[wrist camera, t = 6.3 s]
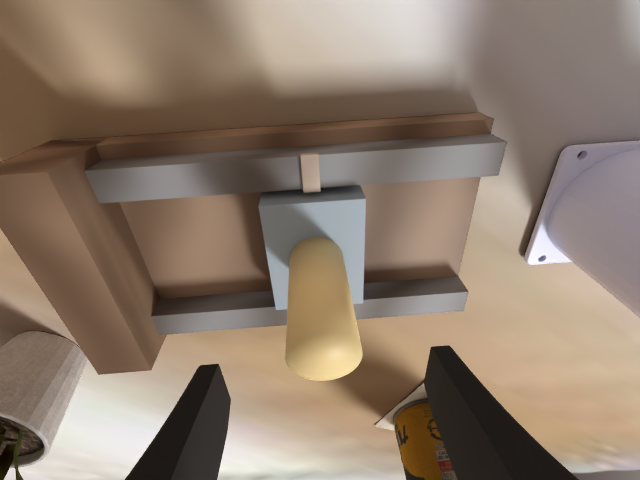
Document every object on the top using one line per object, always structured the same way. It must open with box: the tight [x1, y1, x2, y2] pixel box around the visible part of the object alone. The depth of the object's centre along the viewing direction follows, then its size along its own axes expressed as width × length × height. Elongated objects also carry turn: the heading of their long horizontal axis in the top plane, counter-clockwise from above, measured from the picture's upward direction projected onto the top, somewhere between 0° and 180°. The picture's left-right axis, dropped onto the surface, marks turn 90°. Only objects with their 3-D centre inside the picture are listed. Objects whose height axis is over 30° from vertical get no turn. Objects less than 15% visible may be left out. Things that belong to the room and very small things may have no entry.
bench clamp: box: [0, 113, 507, 374], centre depth 18 cm, size 22×12×5 cm, turn 93°
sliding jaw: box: [258, 185, 366, 381], centre depth 15 cm, size 5×7×8 cm
